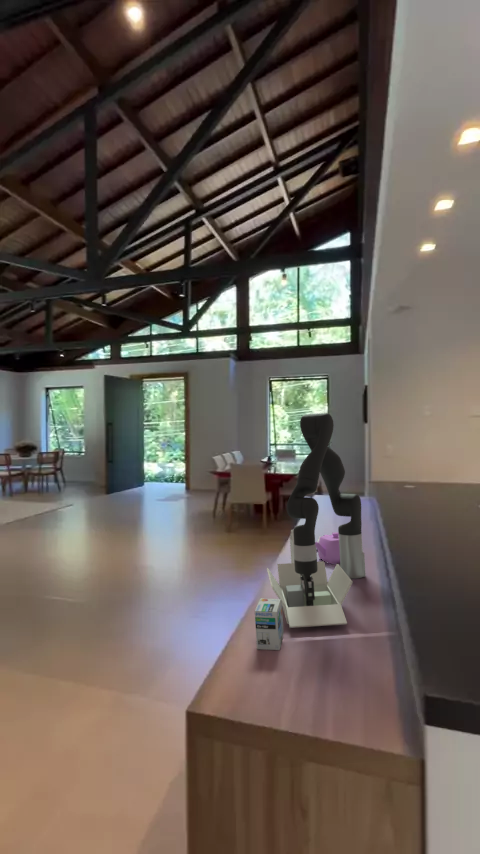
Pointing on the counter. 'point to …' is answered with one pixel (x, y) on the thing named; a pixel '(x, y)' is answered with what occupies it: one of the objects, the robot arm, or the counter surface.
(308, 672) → the counter surface
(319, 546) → the teakettle
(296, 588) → the box
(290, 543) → the milk carton
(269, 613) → the light bulb box
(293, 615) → the carton
